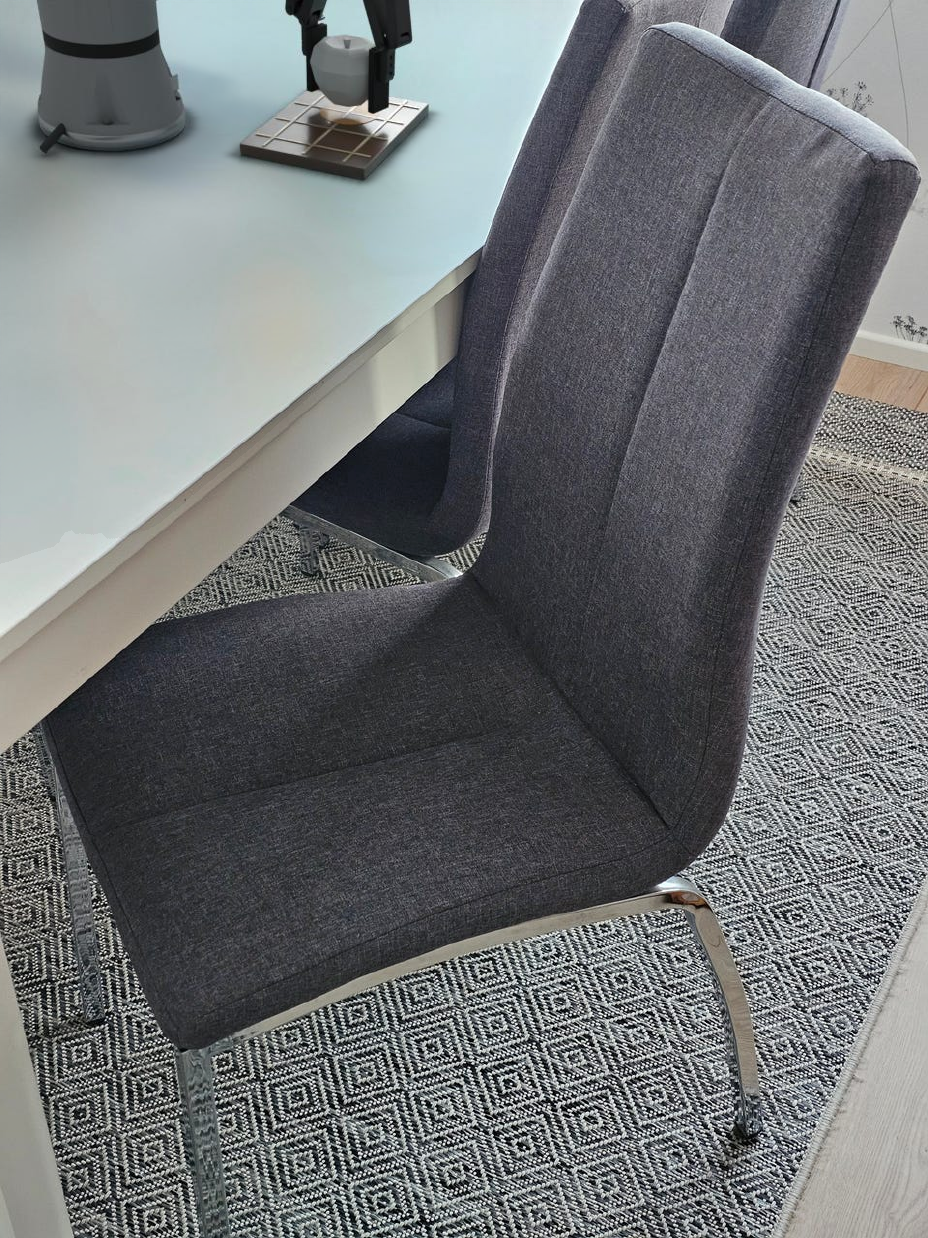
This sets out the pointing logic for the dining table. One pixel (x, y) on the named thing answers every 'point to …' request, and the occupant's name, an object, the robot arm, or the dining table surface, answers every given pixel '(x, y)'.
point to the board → (334, 134)
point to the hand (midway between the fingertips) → (347, 98)
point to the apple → (342, 68)
